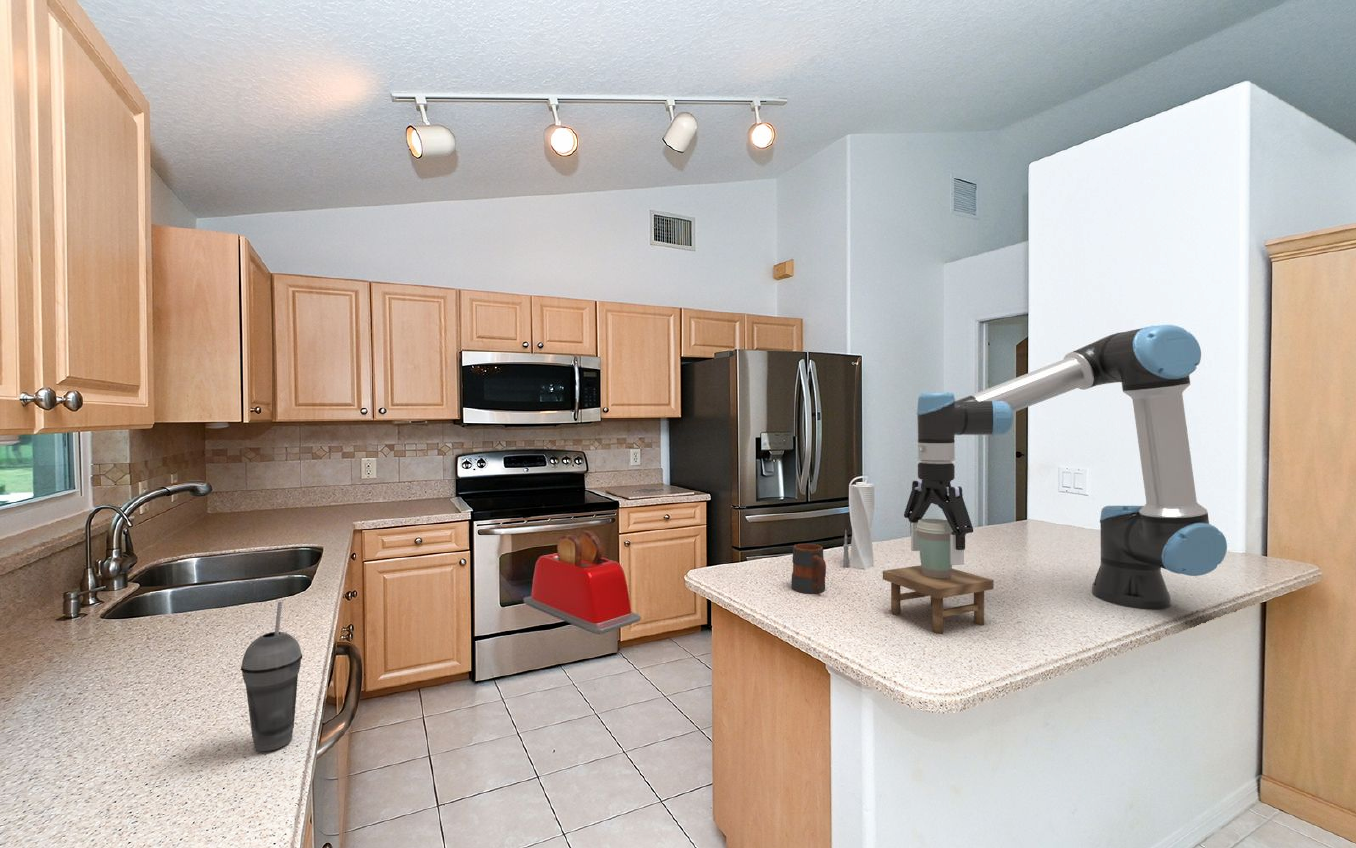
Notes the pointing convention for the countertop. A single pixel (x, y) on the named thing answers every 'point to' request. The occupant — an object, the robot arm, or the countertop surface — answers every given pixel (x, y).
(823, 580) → the mug
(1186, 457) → the robot arm
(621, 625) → the toaster
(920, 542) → the coffee cup
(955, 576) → the stool
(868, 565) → the skyscraper
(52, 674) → the countertop surface
